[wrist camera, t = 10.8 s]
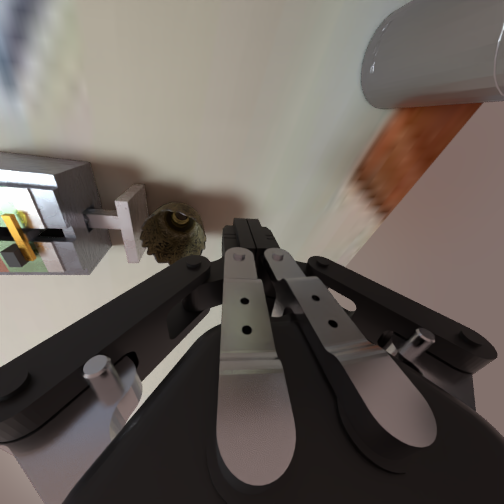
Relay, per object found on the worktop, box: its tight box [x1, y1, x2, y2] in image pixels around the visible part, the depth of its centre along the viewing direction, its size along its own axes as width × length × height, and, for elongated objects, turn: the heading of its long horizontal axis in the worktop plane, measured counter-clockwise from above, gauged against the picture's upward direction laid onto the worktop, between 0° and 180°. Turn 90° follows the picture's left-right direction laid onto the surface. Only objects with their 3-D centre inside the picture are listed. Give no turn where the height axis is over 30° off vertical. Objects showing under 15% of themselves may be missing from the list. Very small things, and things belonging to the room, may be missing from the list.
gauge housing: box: [0, 152, 112, 275], centre depth 23 cm, size 10×12×8 cm
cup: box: [140, 202, 206, 265], centre depth 26 cm, size 8×7×8 cm
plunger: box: [1, 184, 149, 263], centre depth 24 cm, size 10×8×9 cm
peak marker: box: [0, 244, 29, 267], centre depth 20 cm, size 1×2×2 cm, turn 171°
